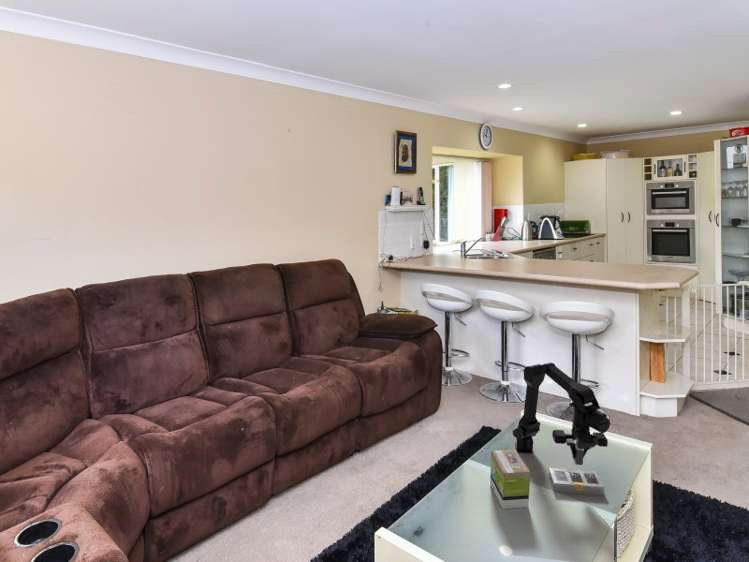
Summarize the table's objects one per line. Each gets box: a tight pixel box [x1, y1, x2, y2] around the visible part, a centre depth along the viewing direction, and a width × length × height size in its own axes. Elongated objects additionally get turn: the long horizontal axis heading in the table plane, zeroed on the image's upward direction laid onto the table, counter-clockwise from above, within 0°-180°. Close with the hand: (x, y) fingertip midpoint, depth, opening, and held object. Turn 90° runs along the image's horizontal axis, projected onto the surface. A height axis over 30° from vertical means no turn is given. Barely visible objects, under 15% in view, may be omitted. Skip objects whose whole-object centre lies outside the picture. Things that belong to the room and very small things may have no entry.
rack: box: [547, 467, 605, 496], centre depth 192 cm, size 18×10×4 cm, turn 82°
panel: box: [572, 442, 585, 466], centre depth 190 cm, size 2×5×6 cm, turn 172°
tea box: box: [489, 448, 531, 510], centre depth 185 cm, size 15×10×15 cm, turn 5°
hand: (577, 458), depth 191 cm, fingers closed on panel, 2 cm apart
